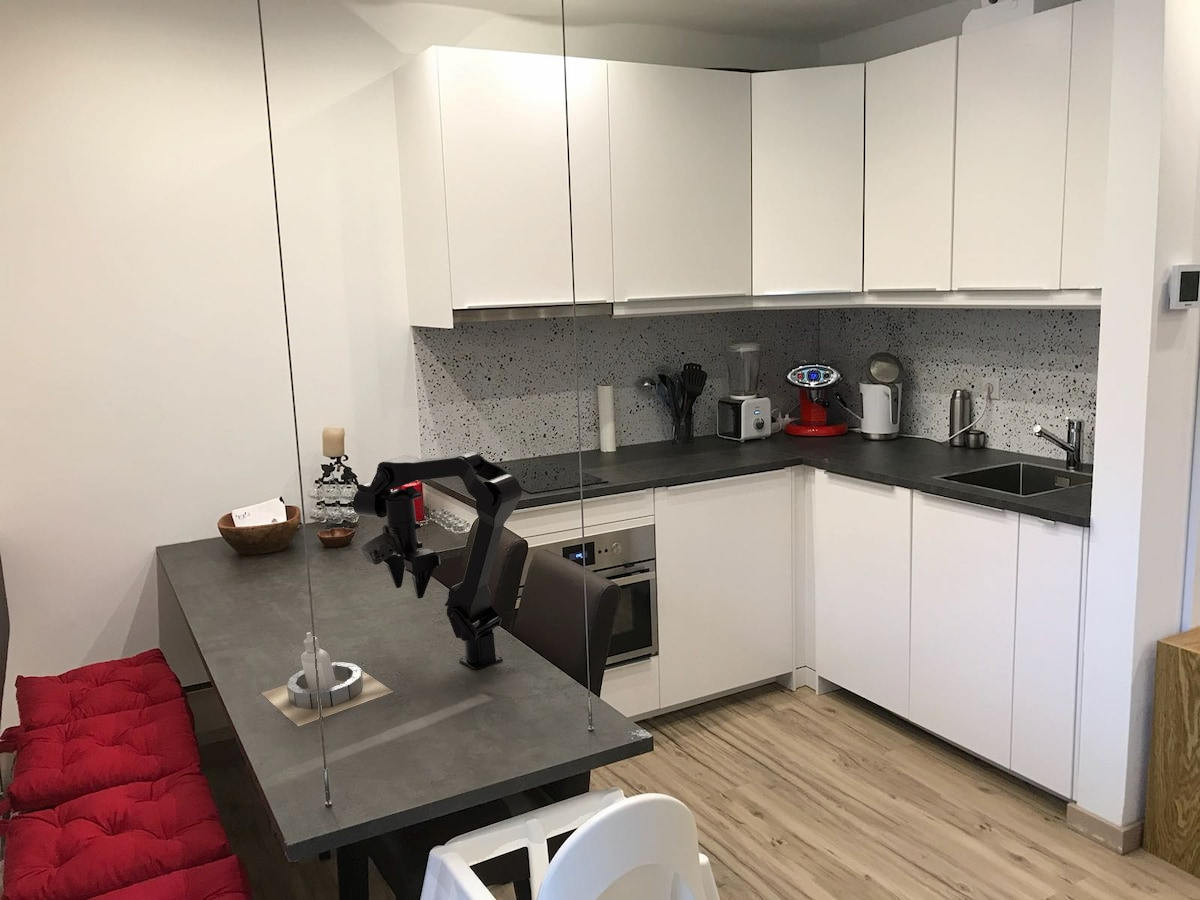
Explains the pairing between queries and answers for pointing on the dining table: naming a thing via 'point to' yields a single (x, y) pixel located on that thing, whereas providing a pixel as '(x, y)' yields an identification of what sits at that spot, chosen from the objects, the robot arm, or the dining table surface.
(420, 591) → the robot arm
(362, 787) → the dining table surface
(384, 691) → the birch board
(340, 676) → the steel collar
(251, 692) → the dining table surface
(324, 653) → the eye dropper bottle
